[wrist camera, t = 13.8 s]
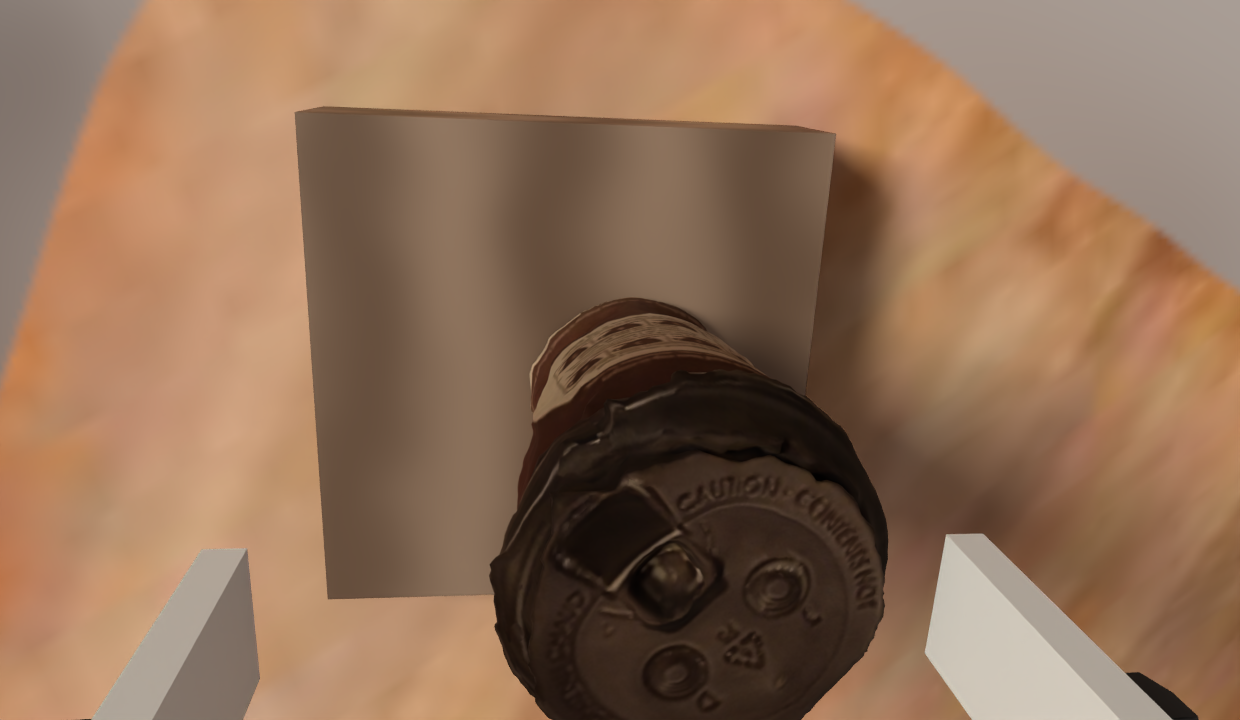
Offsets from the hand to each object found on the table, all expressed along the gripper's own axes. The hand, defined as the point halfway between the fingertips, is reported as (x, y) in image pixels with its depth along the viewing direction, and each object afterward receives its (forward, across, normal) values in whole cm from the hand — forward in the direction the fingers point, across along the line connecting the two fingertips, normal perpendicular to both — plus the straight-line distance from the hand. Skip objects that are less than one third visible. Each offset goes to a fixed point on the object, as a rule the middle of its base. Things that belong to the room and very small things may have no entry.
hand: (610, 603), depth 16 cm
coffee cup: (+13, -2, 0) cm, 13 cm away
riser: (+17, 0, 0) cm, 17 cm away
